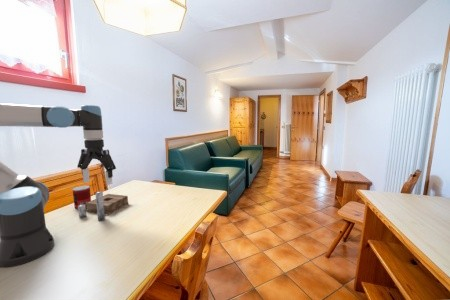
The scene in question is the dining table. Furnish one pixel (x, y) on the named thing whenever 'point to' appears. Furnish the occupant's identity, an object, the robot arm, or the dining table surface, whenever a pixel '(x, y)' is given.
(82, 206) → the short pin
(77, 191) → the canned food
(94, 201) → the hole block
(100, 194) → the long pin
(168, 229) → the dining table surface
